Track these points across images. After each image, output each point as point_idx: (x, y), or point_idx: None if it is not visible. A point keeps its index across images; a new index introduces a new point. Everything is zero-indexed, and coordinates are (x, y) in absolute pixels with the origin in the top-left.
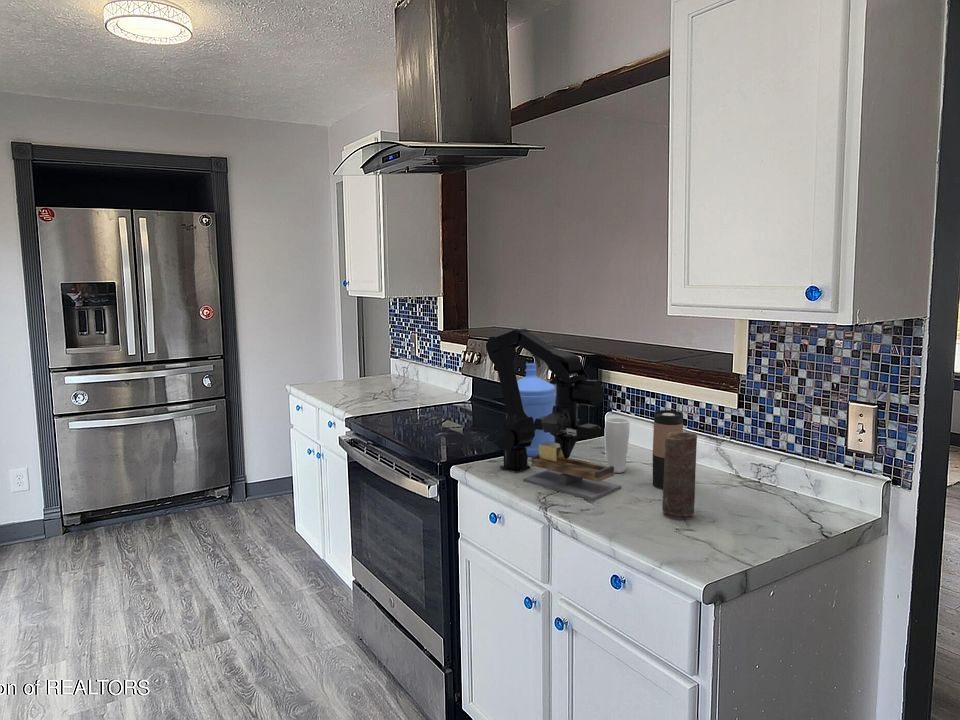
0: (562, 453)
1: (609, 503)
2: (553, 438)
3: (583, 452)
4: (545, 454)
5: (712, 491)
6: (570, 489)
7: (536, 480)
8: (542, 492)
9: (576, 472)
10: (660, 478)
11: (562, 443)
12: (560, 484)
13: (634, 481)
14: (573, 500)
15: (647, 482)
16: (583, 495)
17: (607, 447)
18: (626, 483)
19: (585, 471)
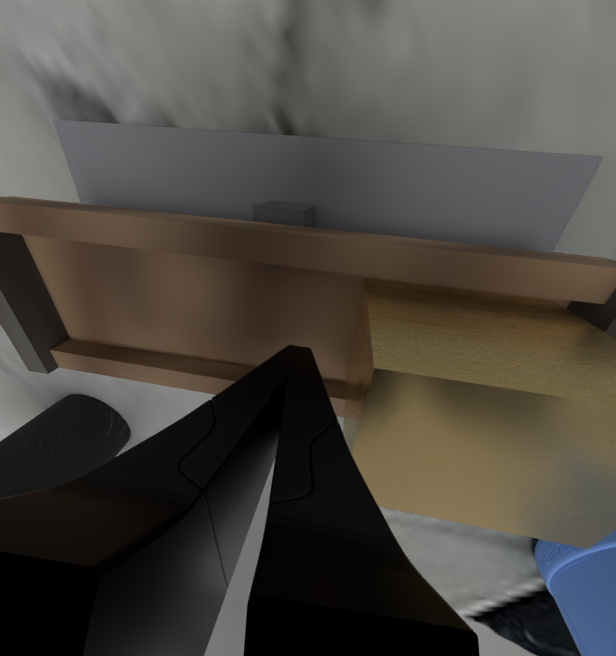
0: (351, 398)
1: (11, 148)
2: (568, 617)
3: (431, 555)
4: (521, 329)
5: (17, 426)
6: (217, 164)
7: (482, 180)
8: (356, 18)
9: (145, 212)
10: (47, 418)
11: (277, 453)
12: (307, 204)
13: (167, 416)
14: (121, 34)
15: (141, 422)
16: (111, 123)
17: (249, 554)
18: (167, 393)
19: (48, 208)
